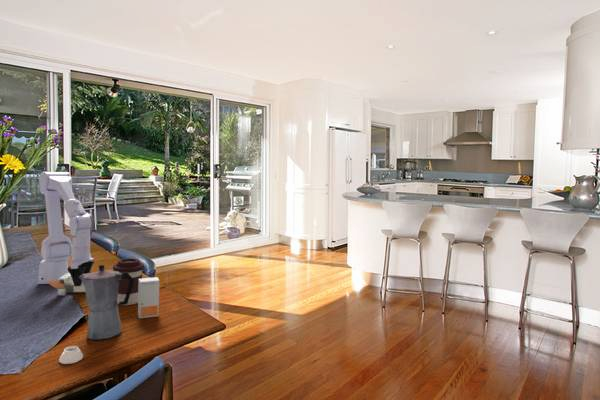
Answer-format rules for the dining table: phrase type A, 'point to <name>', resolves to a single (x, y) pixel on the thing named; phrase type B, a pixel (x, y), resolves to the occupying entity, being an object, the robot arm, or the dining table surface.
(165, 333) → the dining table surface
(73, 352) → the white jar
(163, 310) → the dining table surface
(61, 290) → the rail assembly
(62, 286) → the lever
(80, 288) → the carriage
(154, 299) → the skincare box
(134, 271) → the coffee cup
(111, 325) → the moka pot
